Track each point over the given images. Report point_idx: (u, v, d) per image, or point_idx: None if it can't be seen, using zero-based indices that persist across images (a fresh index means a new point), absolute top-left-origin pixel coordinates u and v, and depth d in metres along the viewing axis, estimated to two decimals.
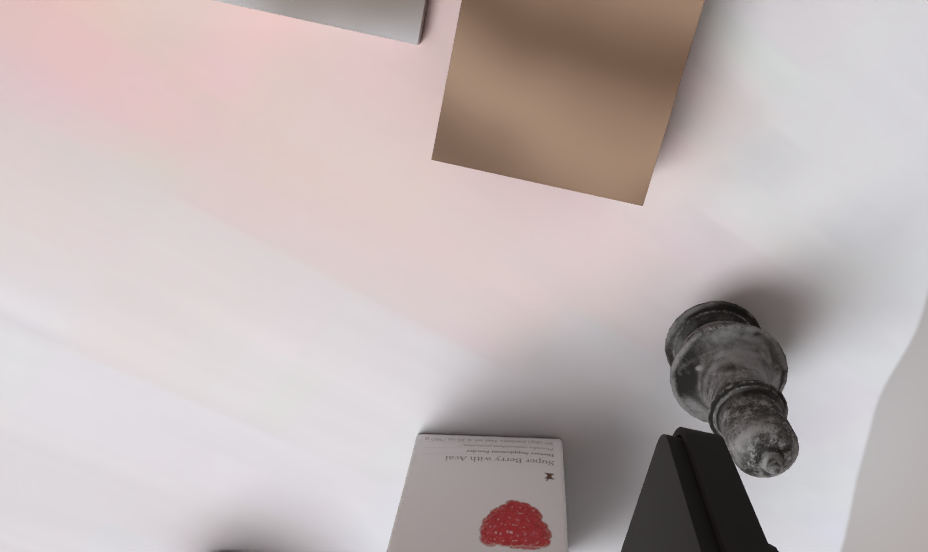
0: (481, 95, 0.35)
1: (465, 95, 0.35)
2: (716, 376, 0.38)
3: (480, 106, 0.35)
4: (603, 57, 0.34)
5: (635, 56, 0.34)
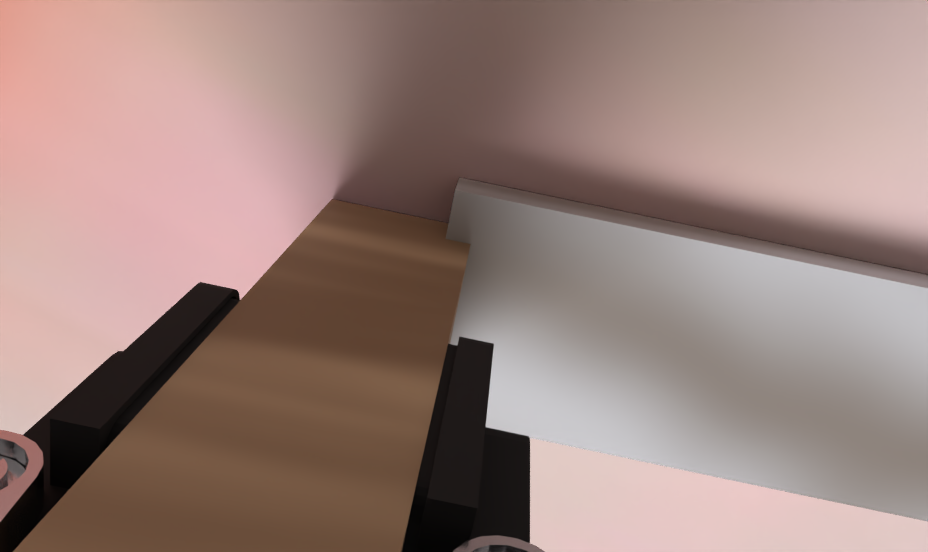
0: None
1: None
2: None
3: None
4: None
5: None
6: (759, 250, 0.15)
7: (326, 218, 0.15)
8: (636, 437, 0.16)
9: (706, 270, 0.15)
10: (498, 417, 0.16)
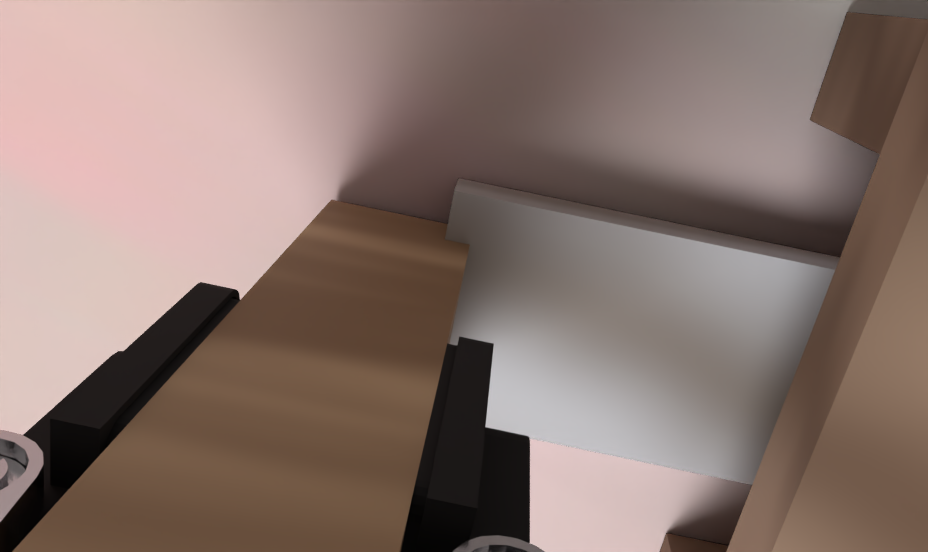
0: None
1: None
2: None
3: None
4: None
5: None
6: (758, 251, 0.15)
7: (325, 219, 0.15)
8: (634, 437, 0.16)
9: (704, 271, 0.15)
10: (497, 417, 0.16)
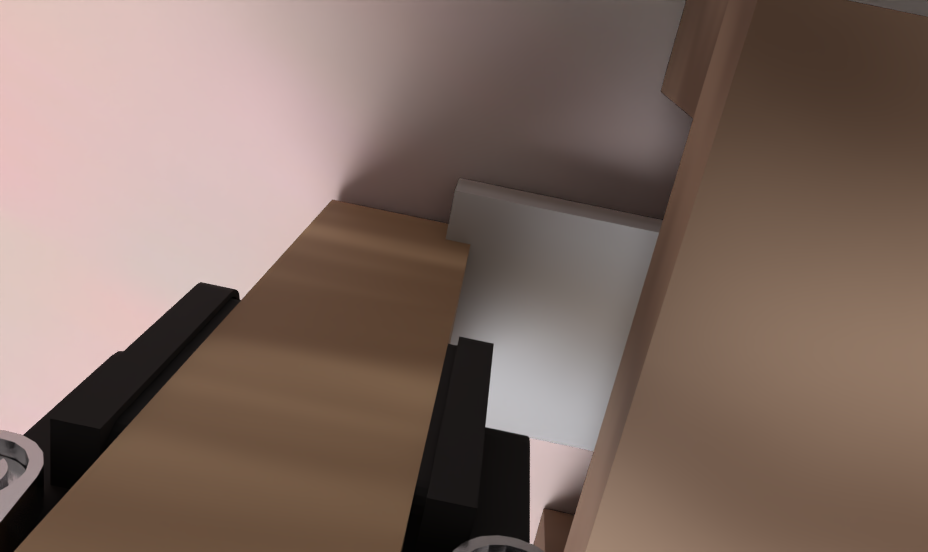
0: None
1: None
2: None
3: None
4: None
5: None
6: None
7: (326, 219, 0.15)
8: None
9: None
10: (498, 417, 0.16)
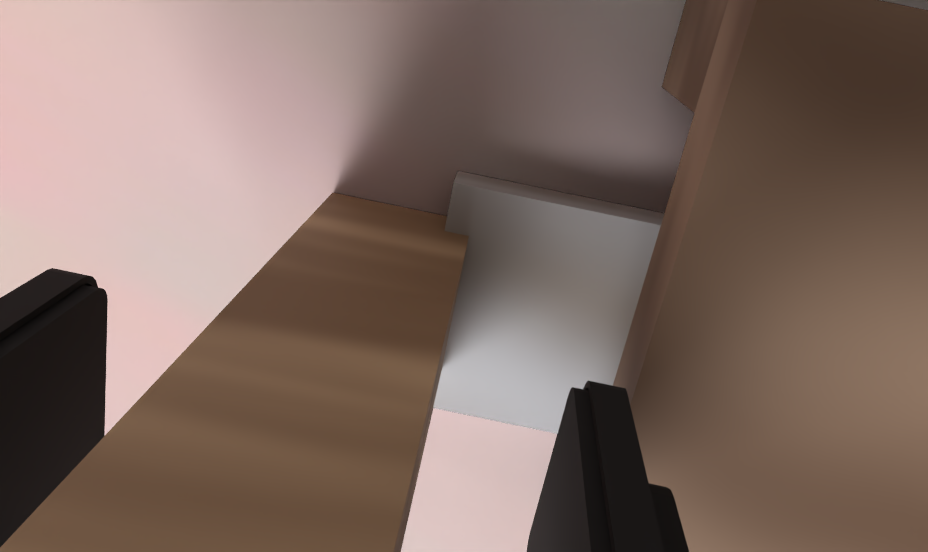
0: None
1: None
2: None
3: None
4: None
5: None
6: None
7: (327, 211, 0.15)
8: None
9: None
10: (496, 407, 0.17)
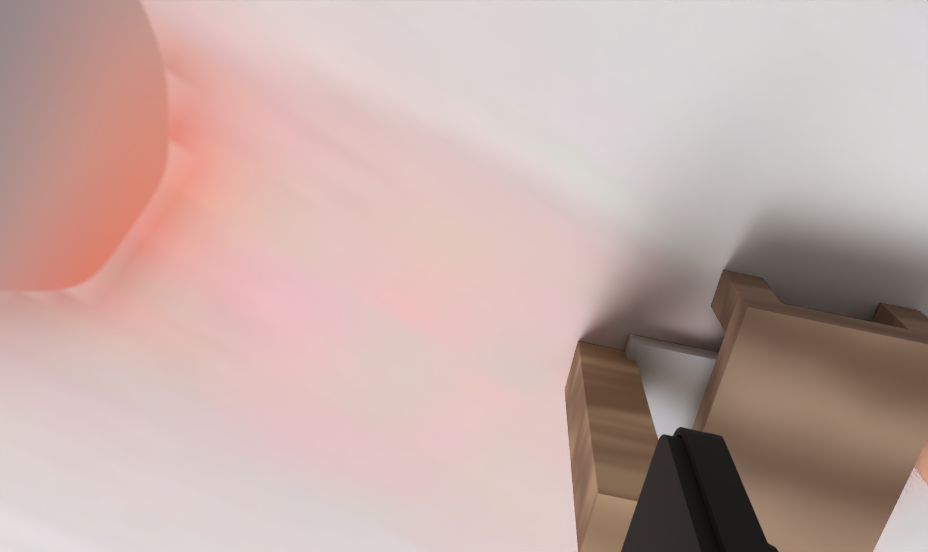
0: None
1: None
2: None
3: None
4: (827, 483, 0.37)
5: (856, 483, 0.37)
6: None
7: (583, 352, 0.40)
8: None
9: None
10: None
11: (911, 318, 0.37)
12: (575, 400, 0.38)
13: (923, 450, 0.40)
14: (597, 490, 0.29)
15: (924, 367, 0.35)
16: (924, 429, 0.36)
